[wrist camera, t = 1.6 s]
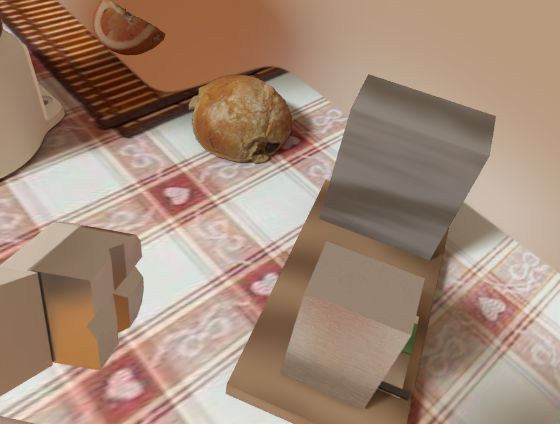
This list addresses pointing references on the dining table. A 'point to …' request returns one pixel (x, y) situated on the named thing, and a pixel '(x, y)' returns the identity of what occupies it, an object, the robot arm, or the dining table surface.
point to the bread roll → (240, 118)
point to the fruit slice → (124, 30)
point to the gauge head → (352, 325)
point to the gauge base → (372, 238)
